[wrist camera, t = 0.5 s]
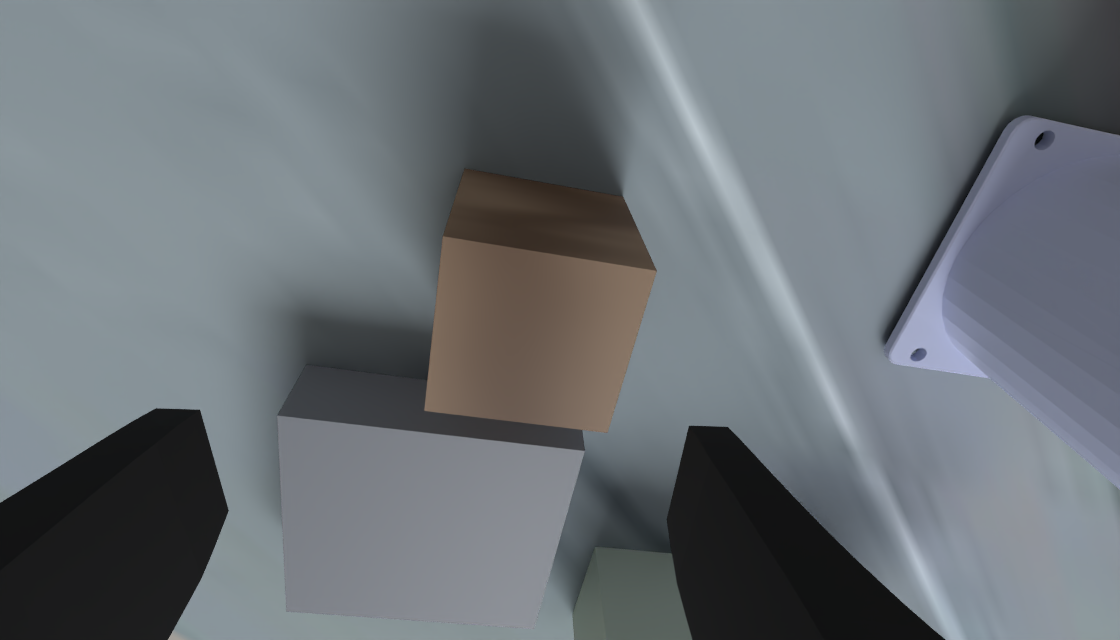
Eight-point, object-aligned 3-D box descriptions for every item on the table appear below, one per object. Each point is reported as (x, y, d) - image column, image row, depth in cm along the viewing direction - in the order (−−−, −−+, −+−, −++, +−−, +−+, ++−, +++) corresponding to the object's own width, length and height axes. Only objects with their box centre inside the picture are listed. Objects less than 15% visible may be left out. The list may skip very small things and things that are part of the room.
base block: (577, 391, 21) (584, 451, 18) (533, 561, 25) (534, 629, 22) (310, 357, 19) (276, 415, 17) (312, 542, 24) (286, 611, 21)
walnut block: (622, 196, 17) (656, 270, 12) (588, 329, 19) (607, 433, 15) (464, 167, 16) (443, 236, 12) (447, 309, 18) (424, 411, 14)
